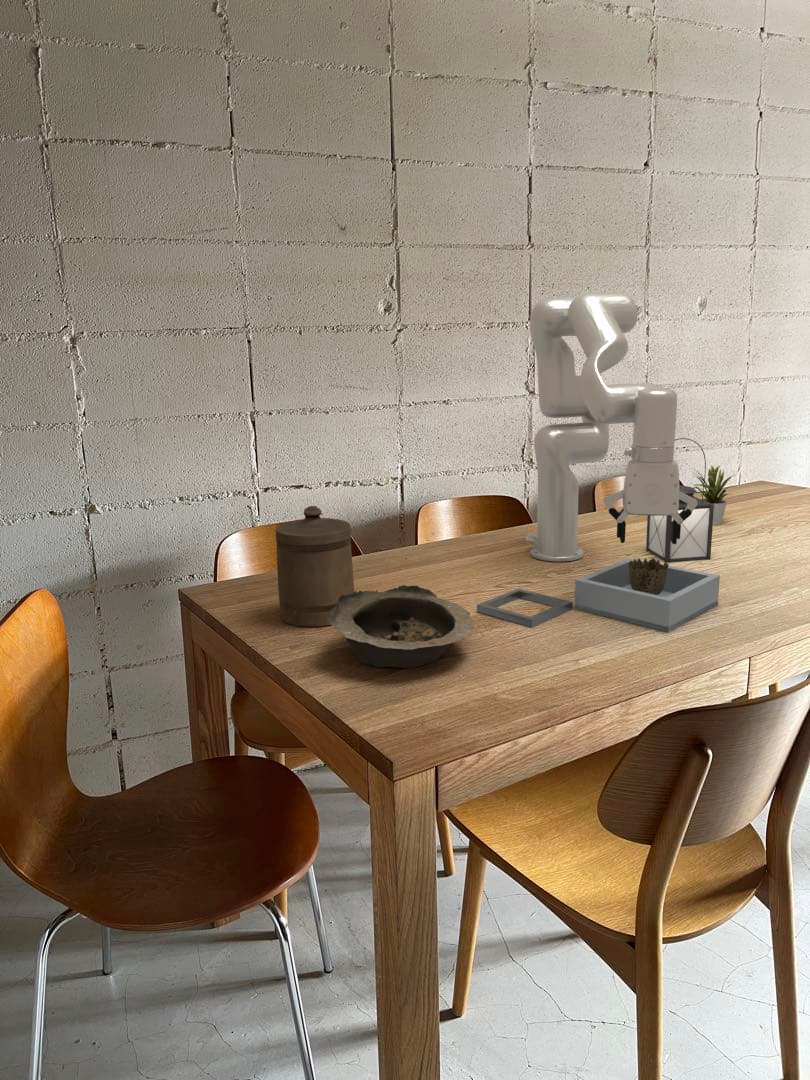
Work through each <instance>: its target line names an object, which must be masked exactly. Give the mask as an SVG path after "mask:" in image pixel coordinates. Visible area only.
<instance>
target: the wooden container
mask: <svg viewBox="0 0 810 1080" xmlns="http://www.w3.org/2000/svg"><path fill="white" fill-rule="evenodd" d="M322 512H323V511H322V510H321V508H319V507H317V505H310V506H307V507H306V508H304V510H303V515H304V518H300V519H294V520H290V521H285V522H283V523H280V524H279V525H277V526H276V527H275V541H276V560H277V561H276V562H277V563H276V564H277V586H278V587H277V591H278V600H279V614H280V615H279V616H280V619H281V620H282V621H283V622H285V623H287V624H288V625H289V624H290V625H292V626H297V627H302V628H303V627H306V628H314V627H315V628H316V627H317V628H319V627H327V626H332V625H331V624H329V622H328V619H327V614H328V613H329V611H330V610H332V609H333V608H334V607H335V605H337V603H338V600H339V598H340V597H341V596H342V595H345V596H346V595H349V594H353V593H354V592H355V582H354V581H355V580H354V579H355V578H354V568H353V567H354V566H353V555H352V553H353V552H352V542H351V541H352V529H351V524H350V522H348V521H347V520H342V519H338V518H330V517H329V518H328V517H321V515H322Z"/></svg>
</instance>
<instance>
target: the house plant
mask: <svg viewBox="0 0 810 1080" xmlns="http://www.w3.org/2000/svg"><path fill="white" fill-rule="evenodd" d="M720 466H721V465H719V466H717V467H714V466H713V464H712V465H711V466H710V468H709V469H708V473H707V476H708V478H707V482H708V483H707V482H706V481H705V484H704V476H703V475H702V473H700V471H698V470H697V469H695V468H690V467H689V469H691V470H694V471H696V472H694V473H697V474H694V473H693V476H692V478H696V479H698V480H699V481H700V482H701V483H696V484H695V483H692V486H694V487H693V488H694V489H697V493H694V495H695V496H696V495H698V494H700V496H702V493H703V497H704V498H703V500H704V501H706V502H709V503H711V504H714V512H713V526H716V527H717V526H722V523H723V518H724V515H725V510H726V508H727V507H726V506H727V501H726V500H725V499H724V498H725V497H726V496H727V495H729V493H727V492H726V491H727V489H730V488H737V486H734V485H730V486H728V487H726V488H724V487H725V486H726V484H727V483H728V482H729V481H730V480H731V479H732V478H733V477H735V476H736V475H735V474H733V475H731V476H730V477H727V478H726V479H725V480H724V477H725V471H724V469H723V470H722V469H721V467H720ZM698 474H699V475H700V476H699V475H698ZM694 475H695V476H694ZM723 480H724V481H723ZM689 484H690V485H691V483H689ZM703 484H704V492H703V488H702V487H703ZM730 495H731V496H733V495H732V493H730Z"/></svg>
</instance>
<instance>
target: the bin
mask: <svg viewBox="0 0 810 1080" xmlns="http://www.w3.org/2000/svg"><path fill="white" fill-rule="evenodd" d="M634 559H635V558H630V557H628V558H625V559H623V560H621V561H618V562H616V563H613V564H610V565H608V566H606V567H604V568H602V569H599V570H596V571H594V572H591V573H590V574H587V575H583V576H581V577H579V578H576V579H575V582H574V583H575V587H574V591H575V592H574V610H577V611H581V612H585V613H590V614H594V615H597V616H600V617H605V618H610V619H613V620H616V621H617V620H618V621H621V622H626V623H629V624H633V625H636V626H640V627H645V628H649V629H653V630H656V631H662V632H665V633H670V632H672V631H674V630H676V629H677V628H679V627H681V626H682V625H685V624H686V623H688V622H690V621H691V620H693V619H695V618H697V617H699V616H700V615H702V614H705V612H707V611H710V610H711V609H713V608H714V607H716V606H718V605H719V595H720V594H719V593H720V579H721V576H720V575H718V574H714V573H709V572H704V571H703V572H702V571H698V570H692V569H687V568H682V567H676V566H672V565H668V571H667V577H666V582H665V586H664V589H663V591H662V592H661V593H660V594H659V595H654V594H649V593H645V592H640V591H635V590H633V589H632V587H631V582H630V573H629V562H630V561H632V563H633V561H634ZM635 560H636V561H638V559H635ZM641 561H642V563H643V561H644V560H641Z"/></svg>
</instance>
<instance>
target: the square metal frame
mask: <svg viewBox="0 0 810 1080" xmlns="http://www.w3.org/2000/svg"><path fill="white" fill-rule="evenodd" d="M517 599H522V600H526V601H529V602H533V603H538V604H541V605H545V606H549V608H547V609H545V610H543V611H540V612H539V613H535V614H534V615H531V616H529V615H526V614H522V613H519V612H514V611H511V610H507V609H504V608H500V606H503V605H505V604H508V603H510V602H513V601H515V600H517ZM573 606H574V603H573V601H571V600H567V599H563V598H558V597H555V596H550V595H546V594H542V593H537V592H534V591H530V590H526V589H521V588H516V589H513V590H511V591H507V592H506V593H504V594H501V595H499V596H495V597H493V598H490V599H488V600H486V601H483V602H480V603H477V604H476V612H477V613H479V614H483V615H485V616H490V617H493V618H497V619H501V620H503V621H508V622H512V623H514V624H519V625H522V626H526V627H529V628H534V627H537V626H538V625H541V624H543V623H545V622H547V621H549V620H552V619H553V618H556V617H558V616H560V615H562V614H564V613H565V614H566V613H568V612H569V611H572V610H573V609H574V608H573Z"/></svg>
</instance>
